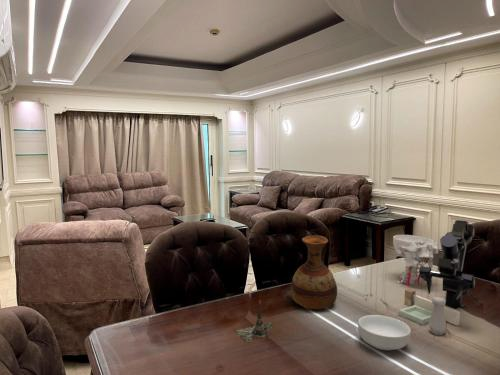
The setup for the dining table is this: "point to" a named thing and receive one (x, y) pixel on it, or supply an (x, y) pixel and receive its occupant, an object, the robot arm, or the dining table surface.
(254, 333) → the eiffel tower figurine
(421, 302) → the gate
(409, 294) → the gate post
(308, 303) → the brown ceramic vase
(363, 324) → the cereal bowl
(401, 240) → the white irregular sculpture
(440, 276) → the robot arm
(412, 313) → the tray
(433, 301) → the salt shaker
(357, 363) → the dining table surface
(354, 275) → the dining table surface
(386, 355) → the dining table surface
